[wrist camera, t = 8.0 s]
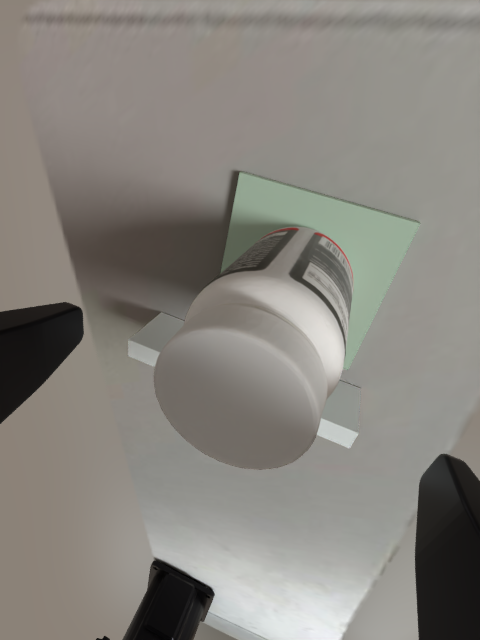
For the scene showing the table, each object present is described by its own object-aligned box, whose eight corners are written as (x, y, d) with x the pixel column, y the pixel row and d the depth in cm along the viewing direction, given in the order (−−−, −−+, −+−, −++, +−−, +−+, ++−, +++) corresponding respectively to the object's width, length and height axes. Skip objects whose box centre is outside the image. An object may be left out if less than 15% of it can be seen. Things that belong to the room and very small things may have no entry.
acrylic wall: (353, 402, 17) (349, 448, 15) (160, 326, 19) (127, 355, 17) (361, 388, 17) (358, 433, 14) (161, 312, 18) (128, 339, 16)
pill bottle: (239, 313, 16) (138, 442, 9) (252, 214, 14) (131, 288, 7) (337, 340, 15) (307, 510, 8) (370, 237, 13) (365, 353, 6)
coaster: (348, 365, 16) (347, 370, 16) (214, 315, 17) (211, 319, 17) (419, 221, 12) (420, 223, 12) (242, 171, 14) (239, 172, 13)
